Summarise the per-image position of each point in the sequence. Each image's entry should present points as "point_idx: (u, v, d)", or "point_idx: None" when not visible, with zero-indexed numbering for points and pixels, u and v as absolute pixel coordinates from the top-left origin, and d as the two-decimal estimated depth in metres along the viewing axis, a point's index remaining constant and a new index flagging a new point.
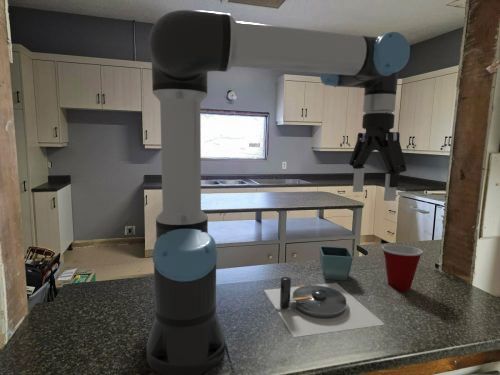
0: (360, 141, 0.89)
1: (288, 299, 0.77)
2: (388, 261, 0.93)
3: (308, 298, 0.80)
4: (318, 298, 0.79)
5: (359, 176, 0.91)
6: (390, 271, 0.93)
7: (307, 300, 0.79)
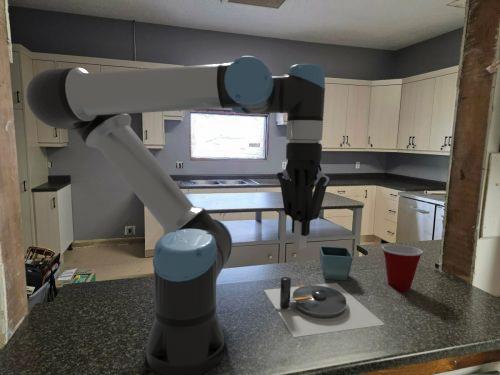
0: (284, 180, 0.73)
1: (288, 299, 0.77)
2: (388, 261, 0.93)
3: (308, 298, 0.80)
4: (318, 298, 0.79)
5: None
6: (390, 271, 0.93)
7: (307, 300, 0.79)
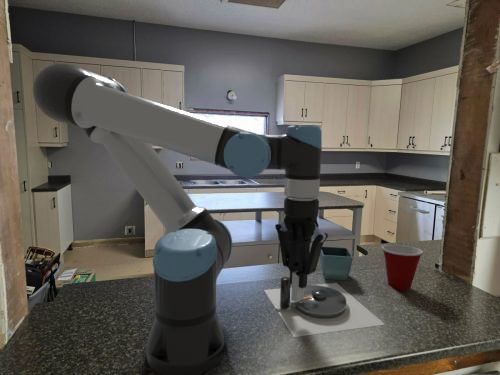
0: (282, 232, 0.74)
1: (288, 299, 0.77)
2: (388, 261, 0.93)
3: (308, 298, 0.80)
4: (318, 298, 0.79)
5: None
6: (390, 271, 0.93)
7: (307, 300, 0.79)
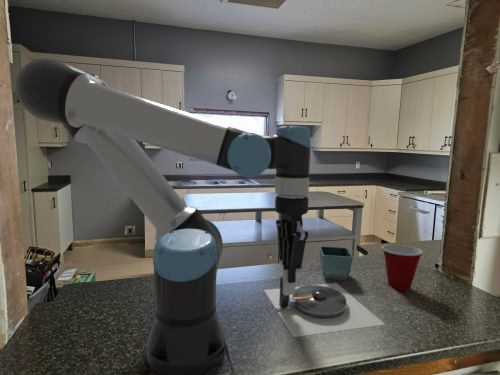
0: (280, 227, 0.79)
1: (287, 298, 0.78)
2: (388, 261, 0.93)
3: (308, 298, 0.80)
4: (318, 298, 0.79)
5: None
6: (390, 271, 0.93)
7: (306, 300, 0.79)
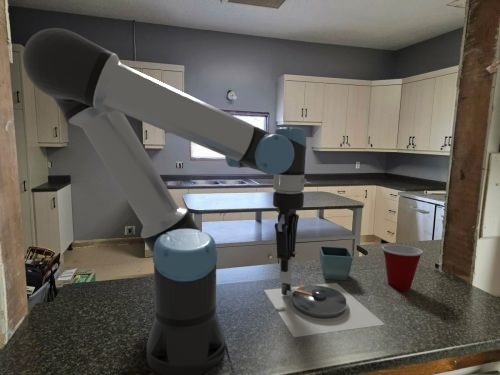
0: None
1: (286, 287, 0.84)
2: (388, 261, 0.93)
3: (307, 294, 0.82)
4: (313, 296, 0.80)
5: None
6: (390, 271, 0.93)
7: (303, 294, 0.82)
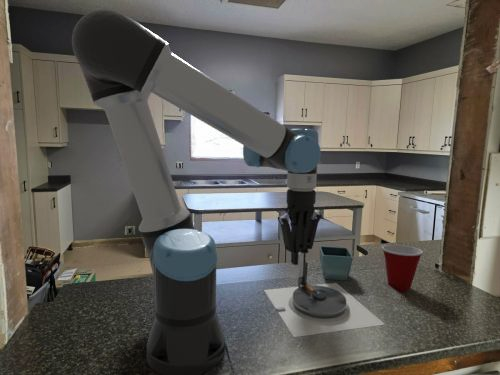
0: (310, 219, 0.89)
1: (299, 280, 0.88)
2: (388, 261, 0.93)
3: (311, 291, 0.83)
4: (311, 294, 0.81)
5: None
6: (390, 271, 0.93)
7: (308, 291, 0.84)
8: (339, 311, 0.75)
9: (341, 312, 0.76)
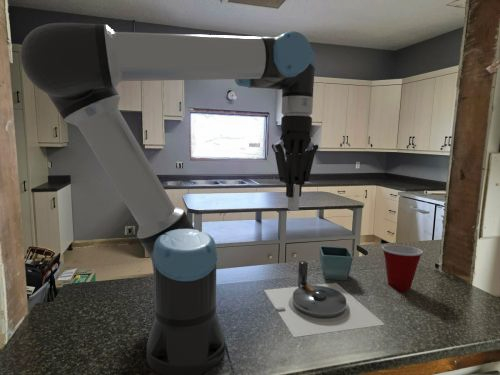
0: (306, 150, 0.84)
1: (299, 280, 0.88)
2: (388, 261, 0.93)
3: (311, 291, 0.83)
4: (311, 294, 0.81)
5: None
6: (390, 271, 0.93)
7: (308, 291, 0.84)
8: (339, 311, 0.75)
9: (341, 312, 0.76)
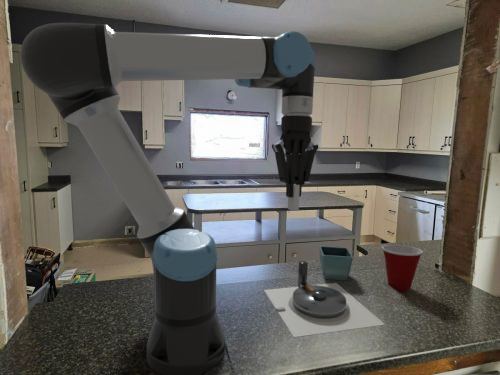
0: (307, 150, 0.84)
1: (299, 280, 0.88)
2: (388, 261, 0.93)
3: (311, 291, 0.83)
4: (311, 294, 0.81)
5: None
6: (390, 271, 0.93)
7: (308, 291, 0.84)
8: (339, 311, 0.75)
9: (341, 312, 0.76)
